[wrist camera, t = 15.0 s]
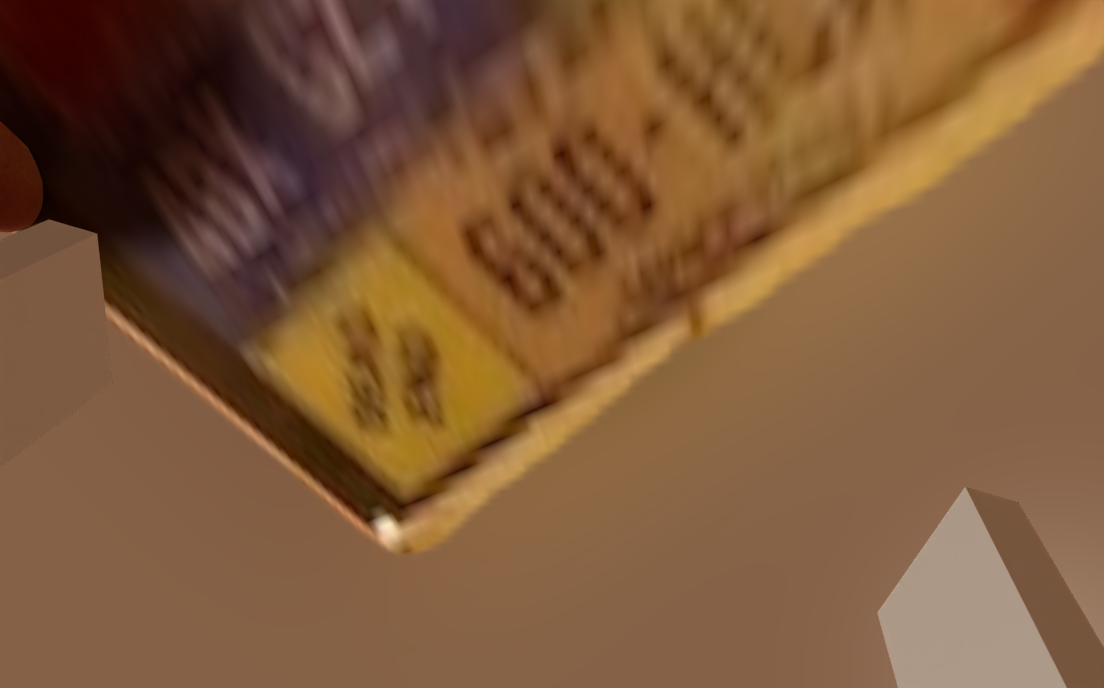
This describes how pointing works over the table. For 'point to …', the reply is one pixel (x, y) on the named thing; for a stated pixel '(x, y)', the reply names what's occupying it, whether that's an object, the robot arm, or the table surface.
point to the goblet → (18, 183)
